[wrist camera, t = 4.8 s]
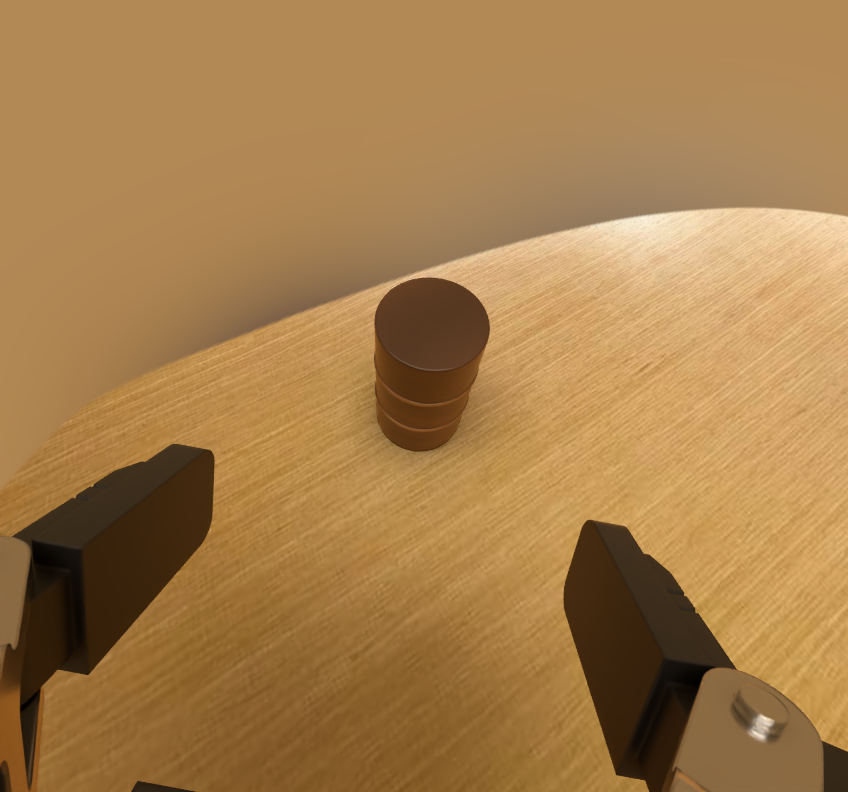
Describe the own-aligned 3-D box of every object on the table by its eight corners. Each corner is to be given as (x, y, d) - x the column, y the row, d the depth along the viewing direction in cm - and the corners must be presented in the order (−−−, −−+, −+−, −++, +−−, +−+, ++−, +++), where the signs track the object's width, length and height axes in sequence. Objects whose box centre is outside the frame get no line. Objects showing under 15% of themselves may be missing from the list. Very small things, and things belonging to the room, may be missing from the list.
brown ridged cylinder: (358, 406, 25) (348, 312, 18) (422, 361, 26) (437, 258, 19) (413, 469, 23) (427, 395, 16) (478, 418, 25) (515, 330, 18)
